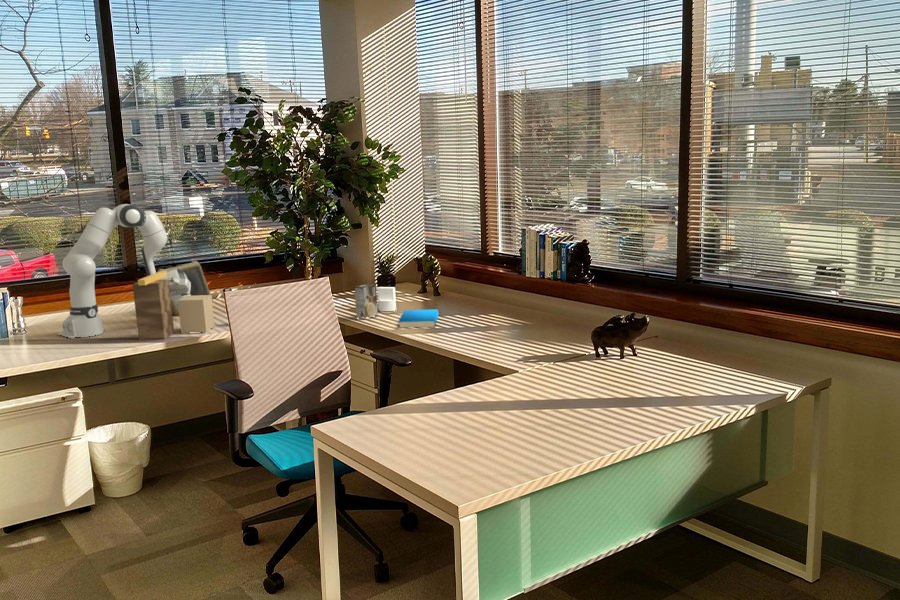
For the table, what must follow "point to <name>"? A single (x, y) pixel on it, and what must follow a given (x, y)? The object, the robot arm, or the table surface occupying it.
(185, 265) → the grey open box
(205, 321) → the cardboard box
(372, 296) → the coffee box
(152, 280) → the tan wooden beam
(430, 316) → the book
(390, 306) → the white recessed box
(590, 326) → the table surface
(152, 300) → the walnut post
